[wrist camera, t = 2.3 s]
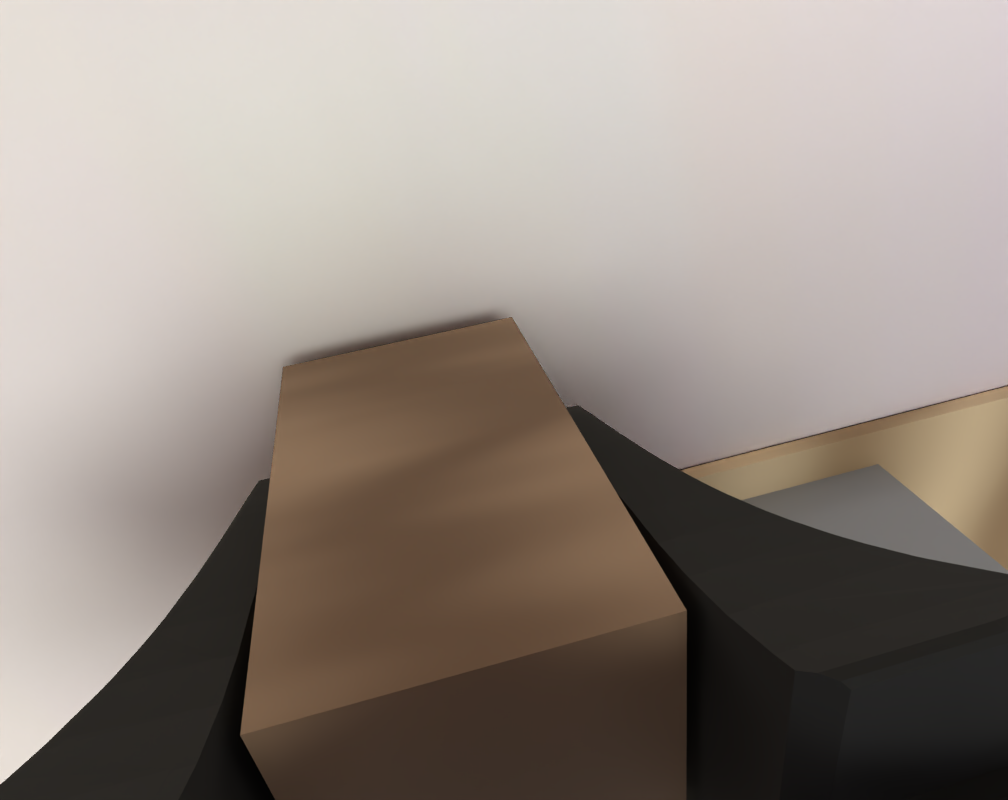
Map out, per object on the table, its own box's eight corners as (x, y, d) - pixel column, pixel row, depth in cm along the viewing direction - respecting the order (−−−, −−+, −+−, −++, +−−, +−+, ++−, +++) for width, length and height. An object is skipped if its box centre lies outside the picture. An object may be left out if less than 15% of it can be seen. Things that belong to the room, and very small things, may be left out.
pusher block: (511, 316, 12) (686, 610, 6) (536, 493, 14) (686, 841, 8) (283, 366, 12) (240, 735, 6) (342, 543, 14) (355, 947, 8)
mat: (1056, 373, 17) (1070, 381, 17) (946, 721, 24) (955, 731, 24) (506, 514, 15) (510, 526, 15) (563, 844, 23) (567, 857, 22)
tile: (878, 464, 17) (1122, 664, 12) (866, 531, 18) (1084, 741, 13) (558, 548, 16) (672, 808, 11) (567, 614, 17) (674, 878, 12)
